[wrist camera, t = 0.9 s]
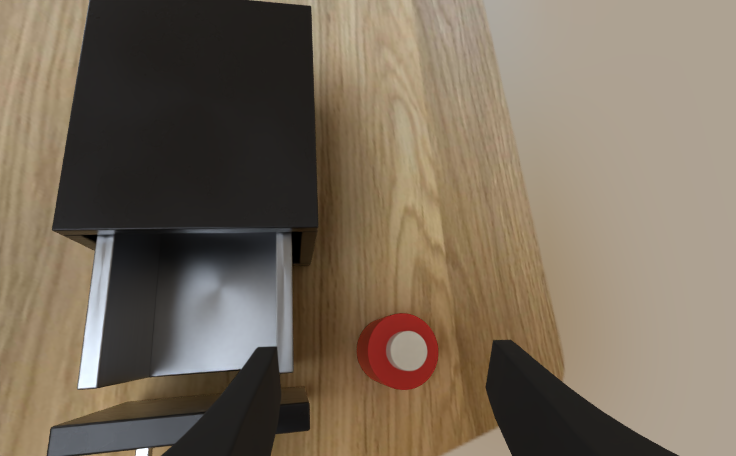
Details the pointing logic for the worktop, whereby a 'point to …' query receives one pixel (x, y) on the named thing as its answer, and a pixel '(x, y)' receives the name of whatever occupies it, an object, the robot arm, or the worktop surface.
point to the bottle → (398, 351)
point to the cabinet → (192, 122)
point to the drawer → (179, 330)
